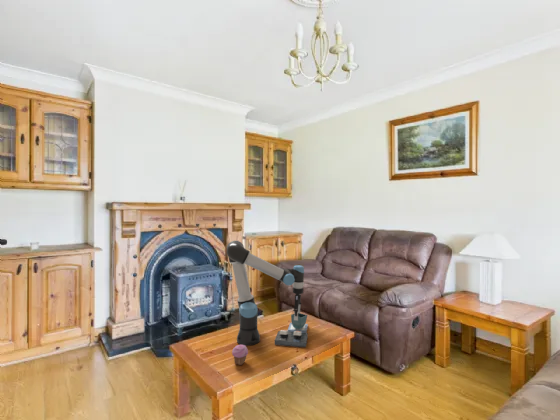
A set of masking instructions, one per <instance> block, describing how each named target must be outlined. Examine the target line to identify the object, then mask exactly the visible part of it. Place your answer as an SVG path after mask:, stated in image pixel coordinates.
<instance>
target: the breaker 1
mask: <svg viewBox="0 0 560 420" xmlns="http://www.w3.org/2000/svg"><path fill="white" fill-rule="evenodd" d="M279 331H280V334H284V335H287V334H288V329H280V330H279Z"/></svg>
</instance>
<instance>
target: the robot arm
mask: <svg viewBox="0 0 560 420" xmlns="http://www.w3.org/2000/svg"><path fill="white" fill-rule="evenodd" d="M226 256H227V257H228V263H230V264H231V265H232V270H233V275H234V281H235V284H236V285H235V286H236V291H237V293H238V294H237V295H238V298H237V299H236V301H237V305H238V309H239V310H238V313H239V329H238V333H237V336H236V342H237V344H238V345H245V346H246V347H247V346H254V345H258V343H260V341H261V335H260V333H259V329H258V311H259V310H258V306H257V304H256V301H255V297H254V295H253V294H252V293H251V292H252V291H251V288H250V283H249V277H248V273H247V269H246V265H247V266H248V267H251V268H252V269H254V270H257V271H260V272H262V273H263V274H265V275H267V276H270V277H272V278H274V279H276V280H279V281H280V282H282V283H283V284H284V285H285V286H289V287H290V286H292V293H293V294H295V295H294V307H293V314H294V320H296V321H298V313H301V305H302V301H301V298H302V295H303V293H304V285H305V283H304V281H305V279H304V278H305V277H304V276H305V267H304V266H303V265H299V264H298V265H294V266H293V268H282V267H279V266H277V265H274V264H273V263H271V262H269V261H266V260H265V259H262V258H260V257H258V256H257V255H254V254H252V253H251V251H249V250H248V249H246V248H245V246H244V244H243V242H241V241H239V240H232V241H230V242H229V243H228V244H227V246H226Z"/></svg>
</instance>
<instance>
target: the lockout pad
mask: <svg viewBox="0 0 560 420" xmlns="http://www.w3.org/2000/svg"><path fill="white" fill-rule="evenodd" d="M308 327H309V324H308V323H305V325H304V327H303V328H301V329H297V328H294V327H293V325H292V322H290V323H289V325H288V328H287V330H288V332H294V331H301V332H302V333H307V331H308Z"/></svg>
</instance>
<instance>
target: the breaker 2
mask: <svg viewBox="0 0 560 420" xmlns="http://www.w3.org/2000/svg"><path fill="white" fill-rule="evenodd" d="M294 335H299V336H301V335H302V332H301V331H294Z"/></svg>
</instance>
